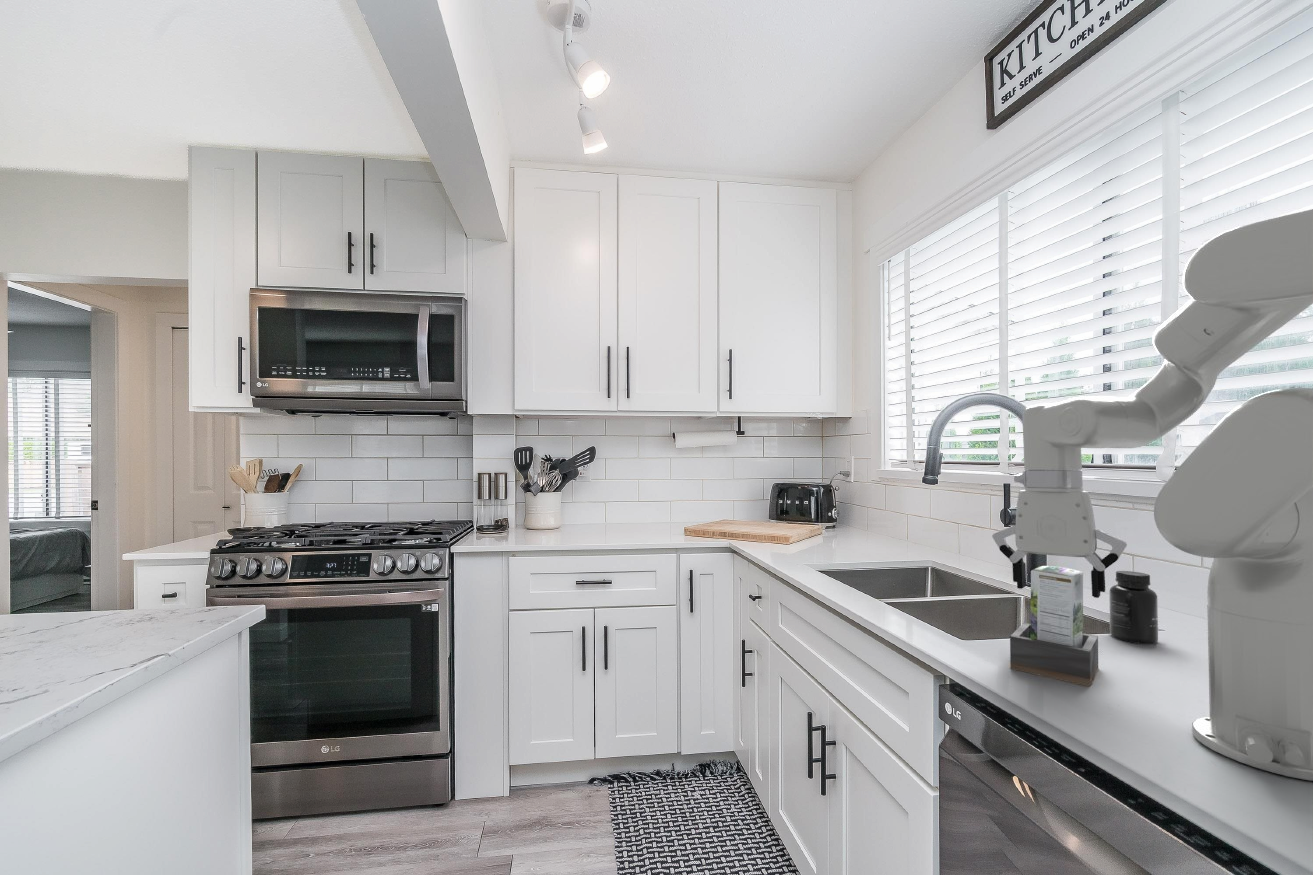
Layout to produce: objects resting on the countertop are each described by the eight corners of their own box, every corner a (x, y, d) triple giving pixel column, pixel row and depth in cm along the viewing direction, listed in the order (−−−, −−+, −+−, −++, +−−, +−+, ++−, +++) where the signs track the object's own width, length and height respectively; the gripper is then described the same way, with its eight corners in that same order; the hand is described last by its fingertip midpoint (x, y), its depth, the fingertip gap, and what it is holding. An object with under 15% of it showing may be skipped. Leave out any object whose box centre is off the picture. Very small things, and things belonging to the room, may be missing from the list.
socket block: (1090, 686, 82) (1089, 651, 82) (1010, 668, 89) (1010, 636, 89) (1098, 667, 89) (1097, 635, 90) (1023, 652, 96) (1023, 622, 96)
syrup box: (1040, 653, 93) (1039, 564, 94) (1085, 663, 89) (1083, 569, 89) (1029, 661, 89) (1028, 568, 90) (1075, 672, 85) (1073, 574, 85)
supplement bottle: (1166, 646, 100) (1165, 578, 100) (1119, 642, 102) (1118, 575, 102) (1147, 635, 106) (1146, 570, 107) (1103, 631, 109) (1102, 568, 109)
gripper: (985, 481, 93) (989, 587, 92) (1121, 483, 81) (1127, 604, 80) (996, 481, 99) (1000, 581, 98) (1125, 482, 87) (1131, 596, 86)
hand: (1057, 591), depth 89 cm, fingers open, 9 cm apart
